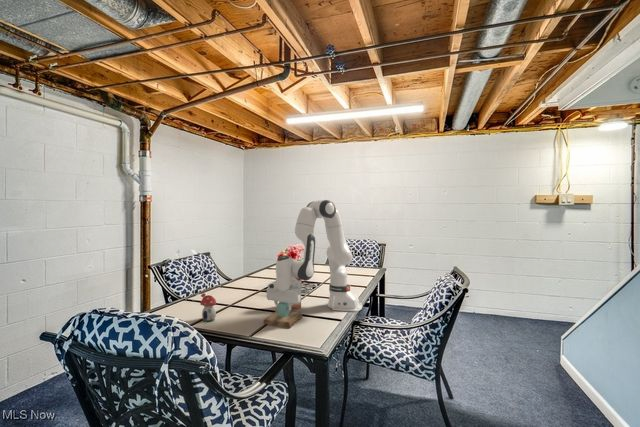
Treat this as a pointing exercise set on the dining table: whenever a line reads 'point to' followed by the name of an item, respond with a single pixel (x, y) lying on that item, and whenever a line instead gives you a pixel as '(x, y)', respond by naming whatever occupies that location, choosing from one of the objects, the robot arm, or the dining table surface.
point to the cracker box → (297, 283)
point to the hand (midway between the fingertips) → (283, 309)
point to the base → (283, 319)
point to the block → (283, 309)
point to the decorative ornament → (208, 308)
